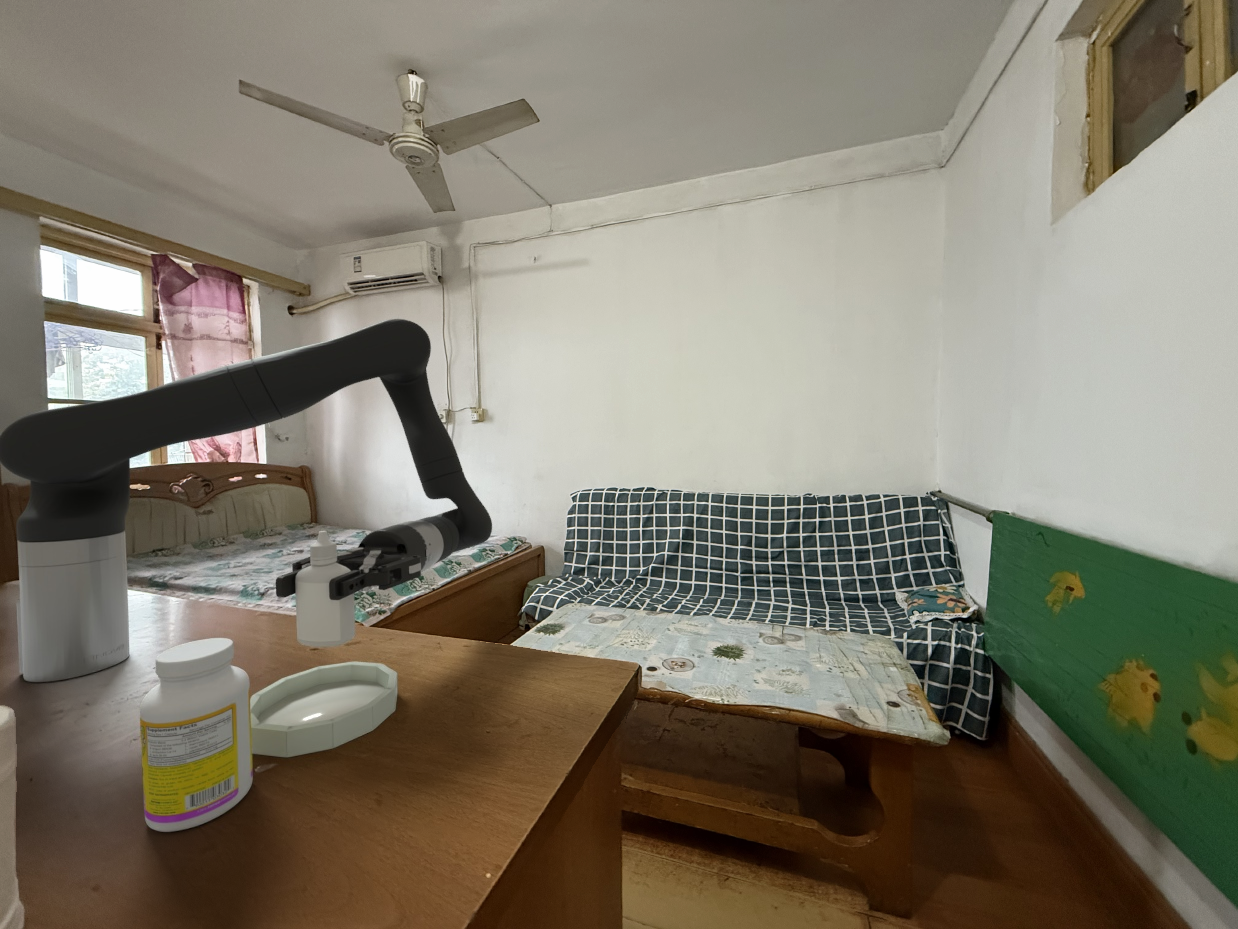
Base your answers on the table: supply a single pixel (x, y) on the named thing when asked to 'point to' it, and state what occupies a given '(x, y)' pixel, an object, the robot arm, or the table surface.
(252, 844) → the table surface
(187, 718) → the supplement bottle
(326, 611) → the eye dropper bottle
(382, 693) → the dish
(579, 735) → the table surface
